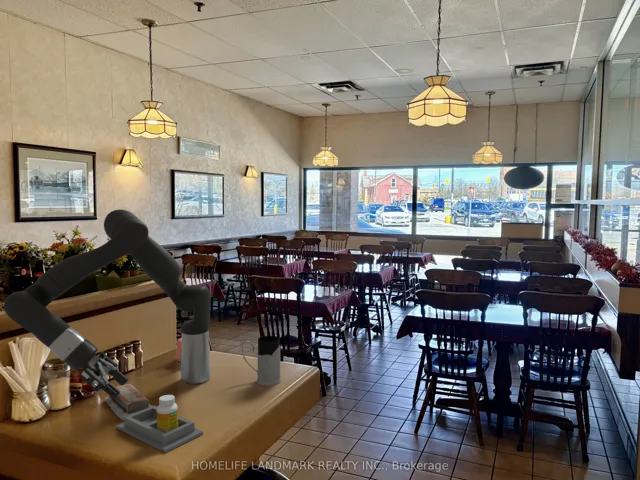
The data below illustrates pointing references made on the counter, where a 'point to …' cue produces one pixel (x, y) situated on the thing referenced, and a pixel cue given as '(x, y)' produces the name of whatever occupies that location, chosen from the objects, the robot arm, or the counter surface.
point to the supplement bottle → (167, 414)
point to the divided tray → (146, 430)
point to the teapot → (179, 350)
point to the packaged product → (127, 401)
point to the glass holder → (267, 360)
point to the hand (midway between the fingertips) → (121, 388)
